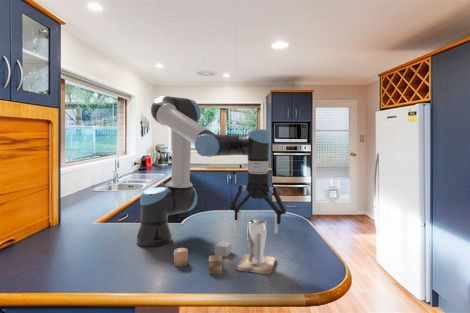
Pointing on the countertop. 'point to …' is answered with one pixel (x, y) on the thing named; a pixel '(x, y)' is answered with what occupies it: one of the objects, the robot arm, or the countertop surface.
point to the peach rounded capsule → (180, 257)
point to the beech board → (263, 268)
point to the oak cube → (215, 264)
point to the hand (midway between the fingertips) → (257, 230)
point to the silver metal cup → (256, 241)
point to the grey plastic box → (223, 248)
